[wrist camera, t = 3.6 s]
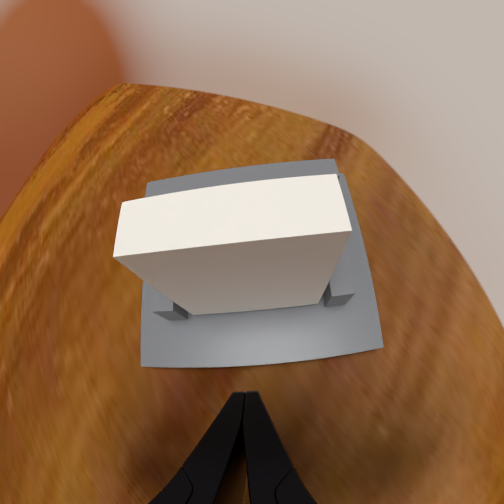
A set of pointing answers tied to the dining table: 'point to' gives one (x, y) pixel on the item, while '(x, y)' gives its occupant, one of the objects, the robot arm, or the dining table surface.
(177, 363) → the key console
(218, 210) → the key
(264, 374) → the dining table surface
